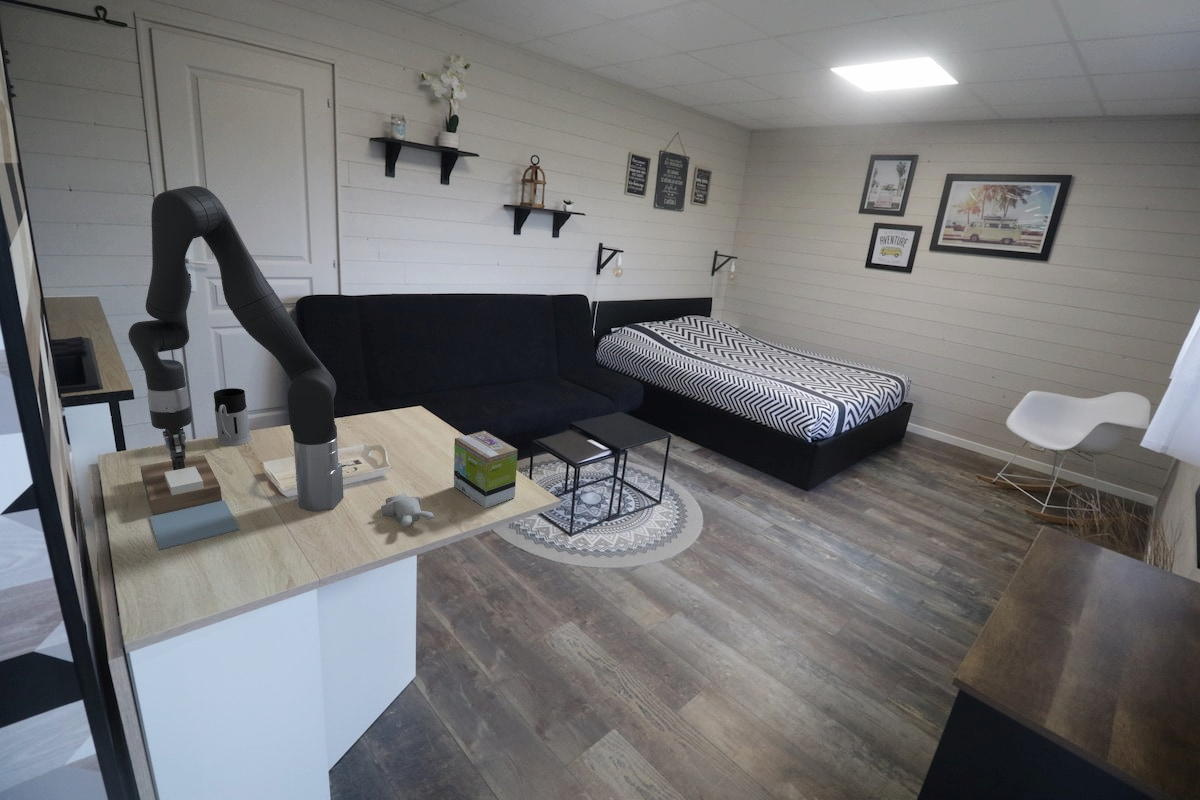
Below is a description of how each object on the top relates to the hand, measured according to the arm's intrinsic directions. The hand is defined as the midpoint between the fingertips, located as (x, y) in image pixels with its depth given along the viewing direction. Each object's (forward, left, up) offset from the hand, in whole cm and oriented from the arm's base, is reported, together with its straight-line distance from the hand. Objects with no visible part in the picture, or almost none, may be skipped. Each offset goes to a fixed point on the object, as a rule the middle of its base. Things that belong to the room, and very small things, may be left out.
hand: (179, 472), depth 134 cm
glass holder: (+5, -27, -5) cm, 28 cm away
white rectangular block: (-4, +4, -1) cm, 6 cm away
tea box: (-71, -11, -5) cm, 72 cm away
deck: (0, +1, -5) cm, 5 cm away
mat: (-12, +14, -5) cm, 19 cm away
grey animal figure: (-56, +5, -5) cm, 56 cm away
